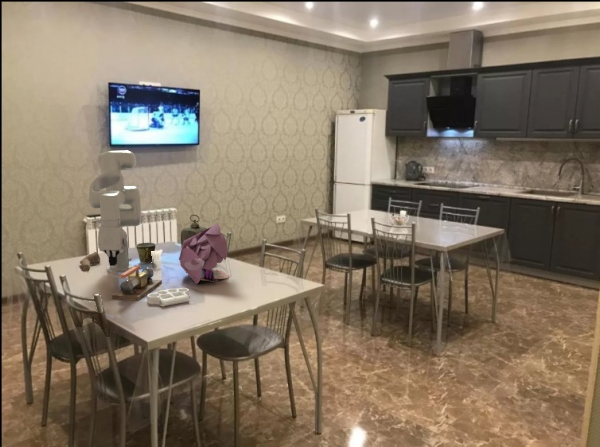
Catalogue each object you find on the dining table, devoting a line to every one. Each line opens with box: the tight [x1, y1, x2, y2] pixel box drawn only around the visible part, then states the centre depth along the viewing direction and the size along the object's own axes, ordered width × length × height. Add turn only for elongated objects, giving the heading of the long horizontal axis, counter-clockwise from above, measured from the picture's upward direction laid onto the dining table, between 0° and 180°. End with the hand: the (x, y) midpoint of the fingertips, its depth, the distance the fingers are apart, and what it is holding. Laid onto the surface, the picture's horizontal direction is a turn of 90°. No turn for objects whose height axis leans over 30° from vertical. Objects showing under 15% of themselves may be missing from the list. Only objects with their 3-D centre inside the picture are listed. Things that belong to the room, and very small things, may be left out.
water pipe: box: [119, 267, 155, 294], centre depth 219 cm, size 22×6×8 cm, turn 172°
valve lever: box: [119, 264, 141, 279], centre depth 212 cm, size 3×15×1 cm, turn 174°
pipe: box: [79, 251, 101, 271], centre depth 258 cm, size 6×17×10 cm
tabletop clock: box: [180, 214, 208, 248], centre depth 274 cm, size 14×9×25 cm, turn 58°
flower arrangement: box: [178, 223, 230, 285], centre depth 240 cm, size 35×24×28 cm
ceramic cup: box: [135, 242, 157, 265], centre depth 264 cm, size 13×10×10 cm
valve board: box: [111, 279, 163, 301], centre depth 220 cm, size 24×12×2 cm, turn 172°
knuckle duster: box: [146, 287, 191, 308], centre depth 208 cm, size 3×18×15 cm
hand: (113, 264), depth 210 cm, fingers closed
